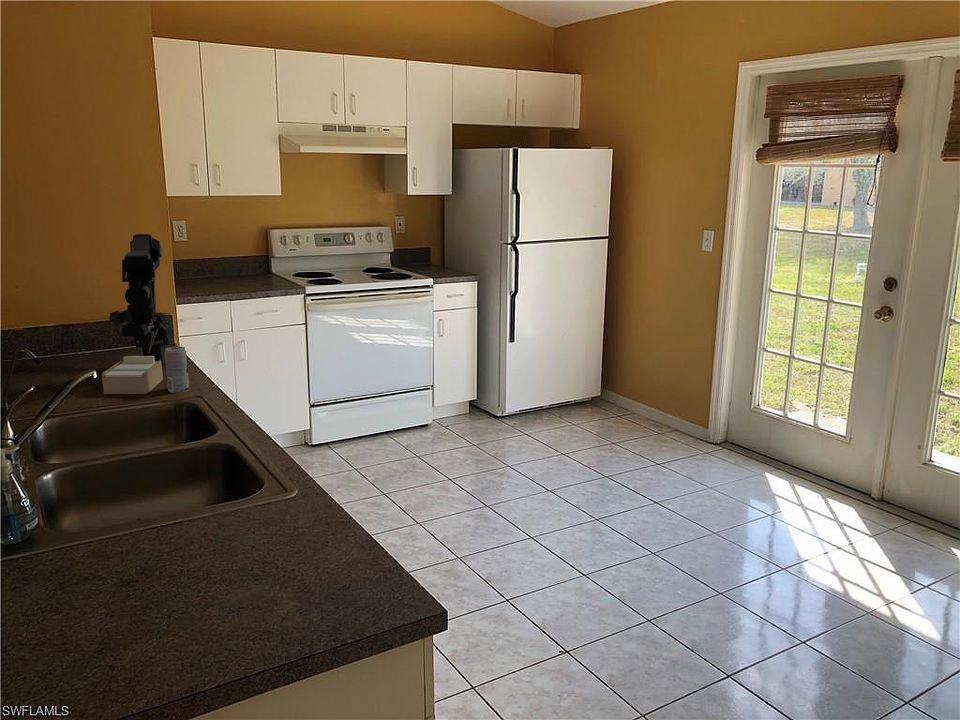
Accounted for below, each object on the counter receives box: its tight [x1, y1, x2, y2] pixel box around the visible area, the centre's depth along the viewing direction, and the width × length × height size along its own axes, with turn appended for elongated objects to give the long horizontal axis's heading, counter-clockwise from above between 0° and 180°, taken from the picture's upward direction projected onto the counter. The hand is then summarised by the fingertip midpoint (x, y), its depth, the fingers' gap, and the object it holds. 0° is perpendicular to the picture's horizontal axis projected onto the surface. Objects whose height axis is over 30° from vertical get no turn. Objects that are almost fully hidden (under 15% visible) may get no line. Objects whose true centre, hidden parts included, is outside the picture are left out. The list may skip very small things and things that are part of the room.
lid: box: [105, 355, 157, 377], centre depth 209 cm, size 13×9×2 cm
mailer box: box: [101, 359, 164, 395], centre depth 210 cm, size 13×11×6 cm
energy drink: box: [164, 346, 190, 394], centre depth 208 cm, size 5×5×12 cm
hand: (146, 353), depth 220 cm, fingers closed
